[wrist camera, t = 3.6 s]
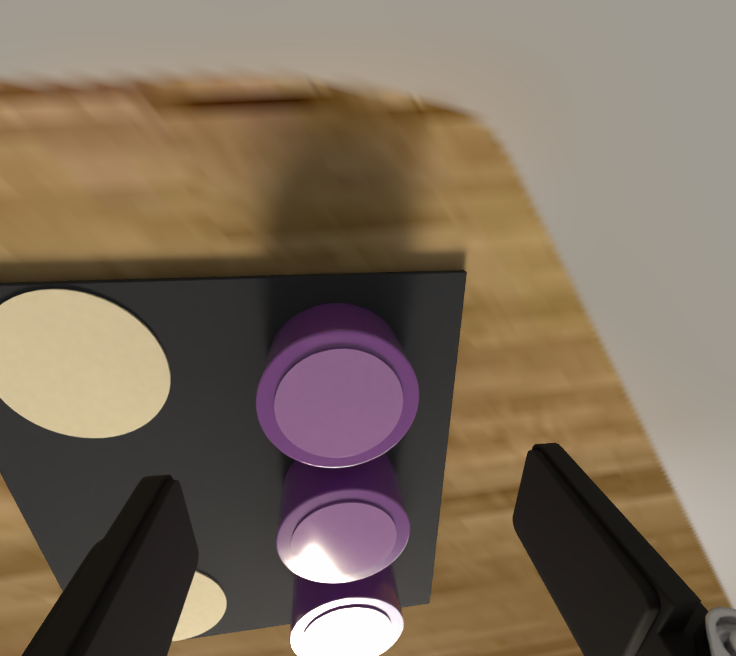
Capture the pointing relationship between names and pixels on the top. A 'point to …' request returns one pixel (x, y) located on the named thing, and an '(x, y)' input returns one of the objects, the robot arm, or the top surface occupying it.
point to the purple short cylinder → (336, 387)
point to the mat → (201, 419)
